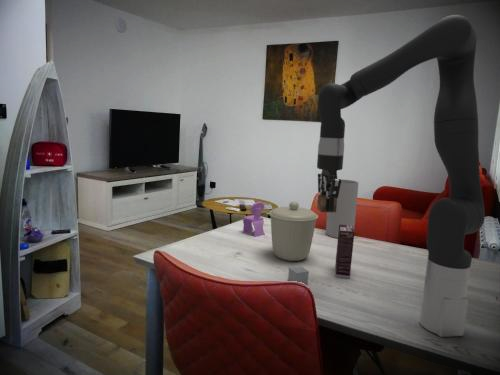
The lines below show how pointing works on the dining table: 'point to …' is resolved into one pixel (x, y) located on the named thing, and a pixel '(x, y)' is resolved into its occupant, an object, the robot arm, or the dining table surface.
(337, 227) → the cylinder vase
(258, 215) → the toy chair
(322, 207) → the walnut cube
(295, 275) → the slate cube
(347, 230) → the supplement box
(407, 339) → the dining table surface
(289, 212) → the canister
